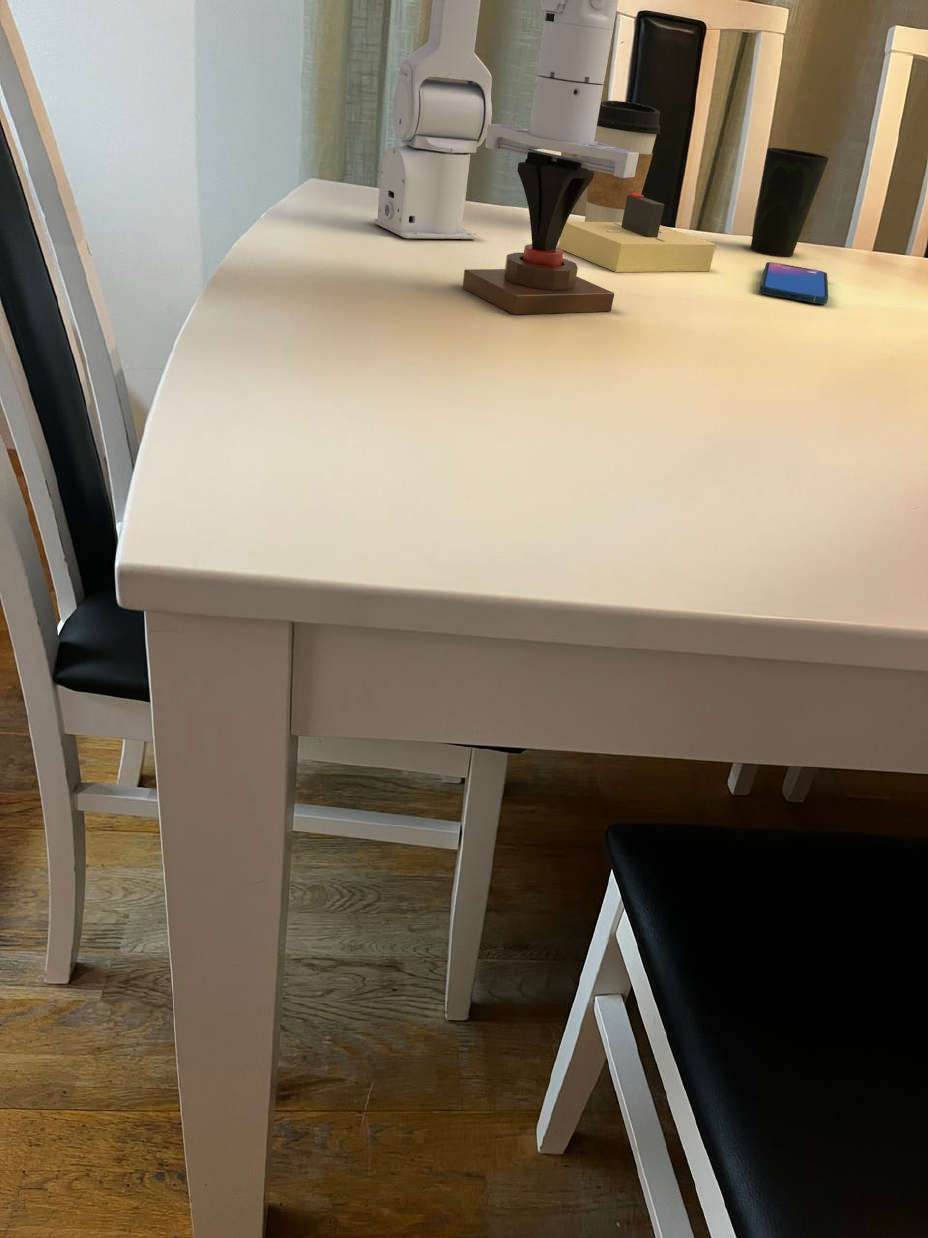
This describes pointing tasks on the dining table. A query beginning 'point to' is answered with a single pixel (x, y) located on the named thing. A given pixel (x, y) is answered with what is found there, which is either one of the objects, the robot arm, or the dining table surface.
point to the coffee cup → (630, 132)
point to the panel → (636, 248)
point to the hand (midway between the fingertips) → (543, 248)
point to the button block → (537, 288)
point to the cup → (785, 199)
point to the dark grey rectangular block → (642, 215)
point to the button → (543, 256)
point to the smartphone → (795, 283)
